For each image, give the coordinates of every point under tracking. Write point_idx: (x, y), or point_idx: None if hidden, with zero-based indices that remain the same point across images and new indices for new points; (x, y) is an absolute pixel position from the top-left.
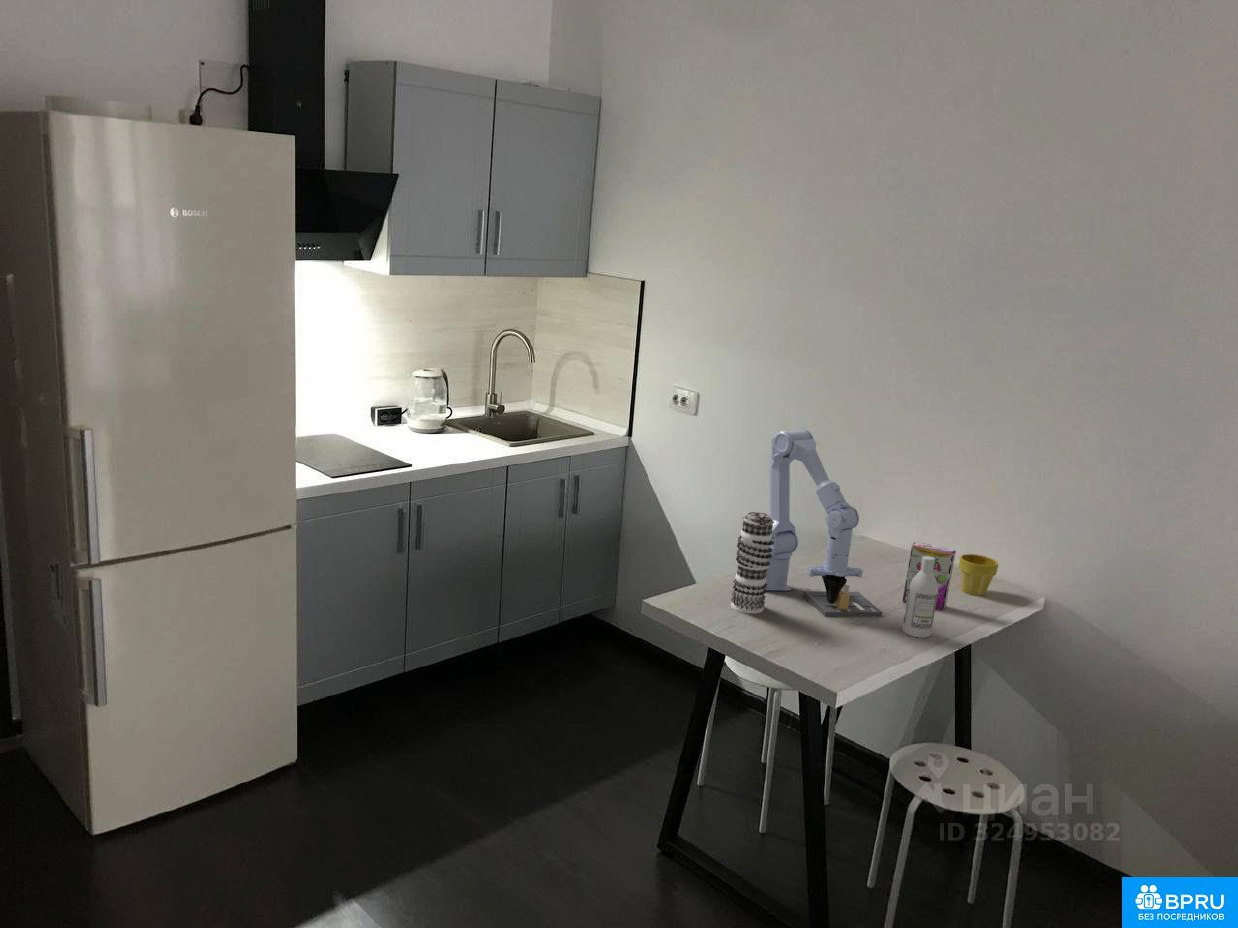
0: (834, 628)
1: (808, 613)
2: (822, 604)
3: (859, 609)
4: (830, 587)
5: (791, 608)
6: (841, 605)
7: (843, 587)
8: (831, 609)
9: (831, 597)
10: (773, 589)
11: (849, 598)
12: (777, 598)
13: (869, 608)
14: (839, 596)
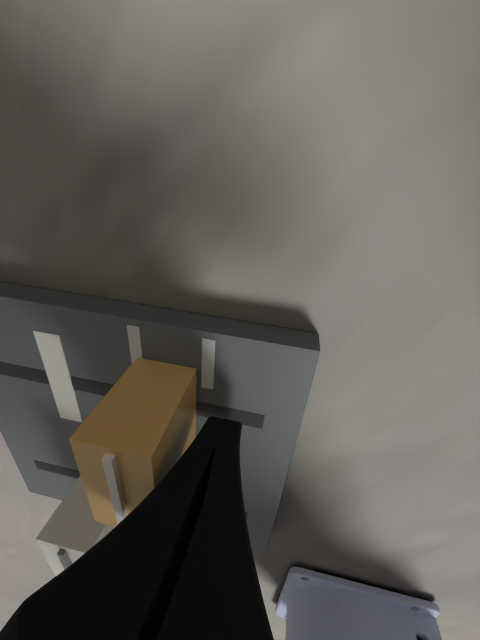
0: (423, 66)
1: (401, 389)
2: (262, 441)
3: (64, 343)
4: (251, 575)
5: (452, 461)
6: (172, 383)
7: (81, 528)
8: (247, 377)
9: (232, 458)
10: (375, 591)
11: None
12: (418, 545)
13: (3, 345)
14: (163, 451)
